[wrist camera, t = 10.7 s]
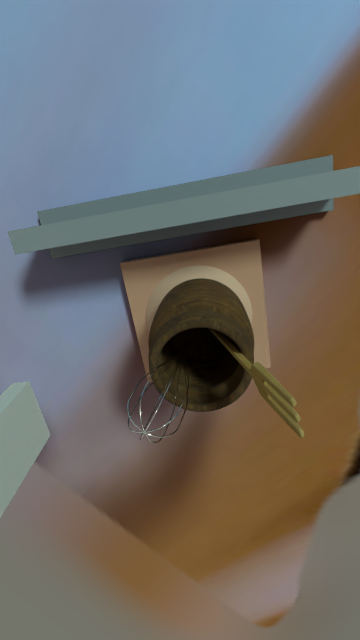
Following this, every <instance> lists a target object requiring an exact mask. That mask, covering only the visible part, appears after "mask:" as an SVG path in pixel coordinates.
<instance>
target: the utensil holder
mask: <svg viewBox="0 0 360 640" xmlns="http://www.w3.org/2000/svg"><path fill="white" fill-rule="evenodd" d="M148 346H149V373H150V378H149V380H150V379H152V381H153V382H152V383H151V384H150V385H149V386H148V387H147V389H148V388H149V387H150V386H151V385H152V384H154V385H155V387H156V389H157V390H158V391H159V393H160V394H161V396H163V398H162V400H161V402H160V404H159V406H158V408H157V410H156V412H155V414H154V416H155V415H156V413H157V411H158V409H159V407H160V405H161V403H162V401H163V399H164V398H165V399H166V400H168V401H169V402H171V403H172V404H174V408H175V405H176V406H178V407H180V409H181V408H183V409H185V411H186V410H190V411H197V412H207V411H214V410H218V409H221V408H223V407H226V406H228V405H230V404H231V403H233V402H234V401H236V400H237V399H238V398H239V397H240V396H241V395H242V394H243V393H244V392H245V390H246V389H247V387H248V386H249V384H250V381H251V379H252V378H253V379H254V381H255V383H256V386H257V388H258V390H259V392H260V394H261V396H262V397H263V398H264V399H265V400H266V402H267V403H268V404H269V405H270V406H271V407H272V408H273V409H274V410H275V411H276V412H277V413H278V414H279V415H280V417H281V418H282V419H283V420H284V421H285V422H286V423H287V424H288V425H289V426H290V427H291V428H292V429H293V430H294V432H295V433H296V434H297V435H298V436H299V437H300V438H302V437H304V436H305V435H304V432H303V430H302V429H301V428H300V426H299V425H298V424H297V423H296V422H300V421H301V420H300V417H299V415H298V413H297V412H296V411H295V410H294V409H293V408H292V407H294V406H296V401H295V399H294V398H293V397H292V396H291V395H290V394H289V393H288V391H287V390H286V389H285V388H284V387H283V386H282V385H281V384H280V383H279V382H278V381H277V380H276V379H275V378H274V377H273V376H272V375H271V374H270V373H269V372H268V371H267V370H266V368H265V367H264V366H263V365H262V364H260V363H259V362H256V363H254V334H253V330H252V326H251V323H250V320H249V317H248V315H247V313H246V310H245V308H244V306H243V304H242V302H241V300H240V299H239V297H238V296H237V295H236V294H235V293H234V292H233V291H232V290H231V289H230V288H229V287H227V286H226V285H224V284H222V283H220V282H218V281H215V280H212V279H205V278H198V279H191V280H187V281H184V282H182V283H180V284H178V285H177V286H175V287H174V288H173V289H171V290H170V291H169V292H168V293H167V294H166V296H165V297H164V298H163V300H162V301H161V303H160V305H159V307H158V309H157V312H156V314H155V316H154V319H153V322H152V325H151V328H150V332H149V340H148ZM149 373H147V374H146V375H148V374H149ZM146 375H145V376H146ZM145 376H144V377H145ZM144 377H143V378H144ZM143 378H142V379H143ZM142 379H141V380H142ZM141 380H140V381H139V383H140V382H141ZM149 380H148V382H149ZM148 382H147V384H148ZM139 383H138V384H139ZM138 384H137V386H138ZM147 384H146V386H147ZM137 386H136V387H135V389H136V388H137ZM146 386H145V388H146ZM145 388H144V390H145ZM135 389H134V391H135ZM147 389H146V390H147ZM144 390H143V392H142V395H141V396H140V398H141V400H140V420H141V425H142V428H143V430H142V429H140V428H139V427H138V426H137V425H136V424H135V423H134V422H133V420H132V419H131V417H130V416H131V414H132V412H133V410H134V408H135V406H136V405H137V403H138V401H139V399H140V398H139V399H138V401H137V402H136V404H135V406H134V408H133V410H132V412H131V414H129V409H128V406H129V401H130V399H131V397H132V395H133V393H134V391H133V393H132V395H131V396H130V398H129V401H128V405H127V410H128V415H129V418H128V427H129V419H130V420H131V421H132V423H133V424H134V425H135V426H136V427H137V428H138V429H140V430H141V431H143V432H137V431H133V430H132V429H131V428H130V427H129V429H130V430H131V431H133V432H135V433H142V434H141V437H140V440H141V439H142V437H143V436H144V434H145V435H146V437H147V438H148V439H149V437H148V436H147V434H148V435H150V436H153V437H158V438H161V439H162V438H164V437H168V436H171V435H172V434H174V433H175V432H176V431H177V430H178V428H179V426H180V424H181V422H182V419H183V417H184V414H185V411H184V414H183V416H182V419H181V421H180V424H179V426H178V428H177V429H176V430H175V431H174V432H173V433H172V434H170V435H167V436H164V434H165V432H166V430H167V428H168V425H169V423H170V422H171V421H172V420H173V419H174V418H175V417H176V416H177V415H178V413H179V411H180V409H179V411H178V412H177V414H176V415H175V416H174V417H173V418H172V415H173V412H174V408H173V412H172V415H171V418H172V419H171V418H170V420H169V422H168V423H166V424H165V425H163V426H162V427H164V426H166V425H167V424H168V425H167V427H166V430H165V432H164V434H163V436H154V435H151V434H149V433H147V432H152V431H155V430H158V429H160V428H162V427H160V428H157V429H154V430H151V431H147V429H148V427H149V426H150V424H151V422H152V420H153V418H154V416H153V418H152V419H151V421H150V423H149V425H148V427H147V428H146V426H147V424H148V422H149V420H150V418H151V416H152V414H153V412H154V410H155V408H156V406H157V404H158V402H159V400H160V398H161V396H160V397H159V399H158V401H157V403H156V405H155V407H154V409H153V411H152V413H151V416H150V418H149V420H148V422H147V424H146V426H145V428H146V430H145V428H144V427H143V423H142V418H141V401H142V396H143V394H144V392H145V391H146V390H145V391H144ZM290 405H291V406H292V407H291V406H290ZM161 439H160V440H159V441H161ZM149 441H151V440H150V439H149ZM159 441H157V442H153V441H151V442H152V443H158V442H159Z"/></svg>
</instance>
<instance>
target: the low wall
mask: <svg viewBox="0 0 360 640" xmlns="http://www.w3.org/2000/svg"><path fill="white" fill-rule="evenodd" d="M359 193H360V166H358V167H352V168H347V169H342V170H336V171H333V155H330V156H325V157H320V158H315V159H310V160H304V161H299V162H294V163H289V164H283V165H278V166H273V167H268V168H263V169H257V170H252V171H247V172H242V173H237V174H231V175H226V176H221V177H216V178H210V179H205V180H200V181H195V182H190V183H184V184H179V185H174V186H169V187H163V188H158V189H153V190H148V191H143V192H137V193H132V194H127V195H122V196H117V197H111V198H106V199H101V200H96V201H90V202H85V203H80V204H75V205H70V206H64V207H59V208H54V209H49V210H44V211H38V212H37V213H38V216H39V219H40V223H41V226H36V227H30V228H25V229H20V230H14V231H9V232H8V235H9V237H10V240H11V243H12V246H13V249H14V252H15V254H20V253H26V252H32V251H37V250H43V249H49V252H50V255H51V259H53V258H59V257H65V256H71V255H76V254H82V253H88V252H94V251H99V250H105V249H111V248H117V247H123V246H128V245H134V244H140V243H146V242H151V241H157V240H163V239H169V238H175V237H180V236H186V235H192V234H198V233H203V232H209V231H215V230H221V229H227V228H232V227H238V226H244V225H250V224H256V223H261V222H267V221H273V220H279V219H284V218H290V217H296V216H302V215H308V214H313V213H319V212H325V211H331V210H334V209H333V198H337V197H342V196H348V195H354V194H359Z"/></svg>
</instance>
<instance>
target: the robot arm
mask: <svg viewBox="0 0 360 640" xmlns="http://www.w3.org/2000/svg"><path fill="white" fill-rule="evenodd" d="M49 437H50V432H49V430H48V427H47V425H46V422H45V420H44V417H43V415H42V412H41V410H40V407H39V405H38V402H37V400H36V397H35V395H34V392H33V390H32V387H31V385H30V382H22V383H14V384H11V385H10V386H9V387H8V388H7V389H6V390H5V391H4V392H3V393H2V394H1V395H0V518H1V516H2V515H3V513H4V511H5V510H6V508H7V506H8V505H9V503H10V501H11V500H12V498H13V496H14V495H15V493H16V491H17V490H18V488H19V487H20V485H21V483H22V482H23V480H24V478H25V476H26V475H27V473H28V472H29V470H30V468H31V467H32V465H33V463H34V462H35V460H36V458H37V457H38V455H39V454H40V452H41V450H42V449H43V447H44V445H45V444H46V442H47V440H48V439H49Z"/></svg>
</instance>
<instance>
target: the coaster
mask: <svg viewBox="0 0 360 640" xmlns="http://www.w3.org/2000/svg"><path fill="white" fill-rule="evenodd" d="M120 266H121V271H122V275H123V279H124V283H125V288H126V292H127V296H128V300H129V304H130V309H131V313H132V317H133V321H134V326H135V330H136V334H137V338H138V343H139V347H140V351H141V355H142V359H143V364H144V368H145V372H146V374H147V373H149V346H148V340H149V332H150V328H151V325H152V322H153V319H154V316H155V314H156V312H157V309H158V307H159V305H160V303H161V301H162V300H163V298H164V297H165V296H166V294H167V293H168V292H169V291H170V290H171V289H173V288H174V287H175V286H177V285H178V284H180V283H182V282H184V281H187V280H191V279H198V278H205V279H212V280H215V281H218V282H220V283H222V284H224V285H226V286H227V287H229V288H230V289H231V290H232V291H233V292H234V293H235V294H236V295H237V296H238V297H239V299H240V300H241V302H242V304H243V306H244V308H245V310H246V313H247V315H248V317H249V320H250V323H251V326H252V330H253V334H254V363H256V362H259V363H260V364H262V365H263V366H264V367H265V368H271V364H270V352H269V341H268V330H267V318H266V307H265V296H264V284H263V273H262V262H261V250H260V240H259V239H252V240H246V241H240V242H234V243H228V244H222V245H216V246H210V247H204V248H198V249H192V250H186V251H180V252H174V253H168V254H162V255H156V256H150V257H144V258H138V259H132V260H126V261H122V262H121V263H120ZM146 376H147V381H148V380H149V378H150V373H149V374H148V375H146ZM149 382H153V381H152V379H150V380H149ZM149 382H148V383H149Z"/></svg>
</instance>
